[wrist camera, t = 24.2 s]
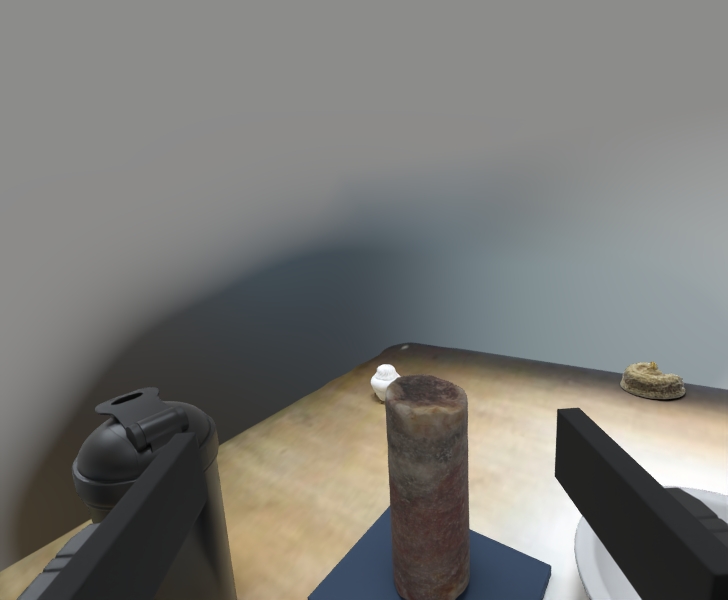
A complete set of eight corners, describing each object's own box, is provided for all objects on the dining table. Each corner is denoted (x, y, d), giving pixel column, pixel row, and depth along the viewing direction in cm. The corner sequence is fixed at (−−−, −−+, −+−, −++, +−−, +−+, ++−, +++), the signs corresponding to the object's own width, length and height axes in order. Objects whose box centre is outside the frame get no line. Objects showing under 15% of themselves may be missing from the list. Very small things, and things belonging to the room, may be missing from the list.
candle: (433, 534, 44) (426, 365, 40) (488, 582, 38) (487, 389, 34) (378, 573, 40) (363, 389, 36) (429, 633, 34) (420, 421, 30)
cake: (650, 407, 69) (650, 379, 68) (607, 384, 79) (606, 358, 78) (701, 395, 70) (701, 367, 69) (652, 373, 80) (652, 348, 79)
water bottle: (212, 566, 43) (174, 369, 38) (270, 623, 37) (234, 394, 32) (108, 647, 36) (43, 415, 31) (159, 736, 29) (87, 461, 24)
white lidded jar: (378, 389, 82) (375, 357, 81) (407, 392, 80) (405, 359, 78) (367, 403, 77) (364, 369, 75) (398, 407, 74) (396, 372, 73)
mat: (308, 605, 38) (307, 597, 38) (397, 503, 51) (397, 496, 50) (494, 747, 27) (494, 737, 27) (551, 573, 40) (551, 565, 39)
